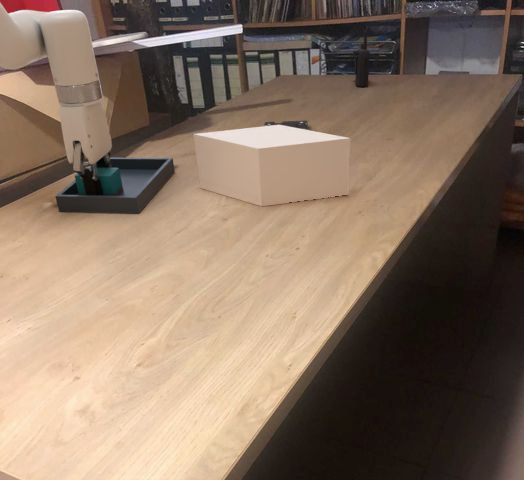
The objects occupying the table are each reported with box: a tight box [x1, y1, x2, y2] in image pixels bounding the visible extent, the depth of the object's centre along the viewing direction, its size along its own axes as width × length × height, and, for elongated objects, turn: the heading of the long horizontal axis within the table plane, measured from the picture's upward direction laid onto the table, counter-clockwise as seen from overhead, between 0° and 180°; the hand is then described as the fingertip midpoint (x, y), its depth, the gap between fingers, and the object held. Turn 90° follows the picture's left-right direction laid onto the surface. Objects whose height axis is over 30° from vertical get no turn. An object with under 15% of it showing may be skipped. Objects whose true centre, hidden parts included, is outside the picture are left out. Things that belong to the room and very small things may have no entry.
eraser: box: [74, 166, 123, 196], centre depth 112 cm, size 7×4×4 cm, turn 80°
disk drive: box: [263, 120, 309, 130], centre depth 136 cm, size 10×3×15 cm
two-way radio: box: [352, 29, 371, 88], centre depth 174 cm, size 6×4×15 cm
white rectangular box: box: [193, 125, 351, 207], centre depth 109 cm, size 14×29×10 cm, turn 75°
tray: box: [54, 157, 176, 215], centre depth 116 cm, size 22×16×3 cm
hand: (101, 193), depth 113 cm, fingers closed on eraser, 4 cm apart
